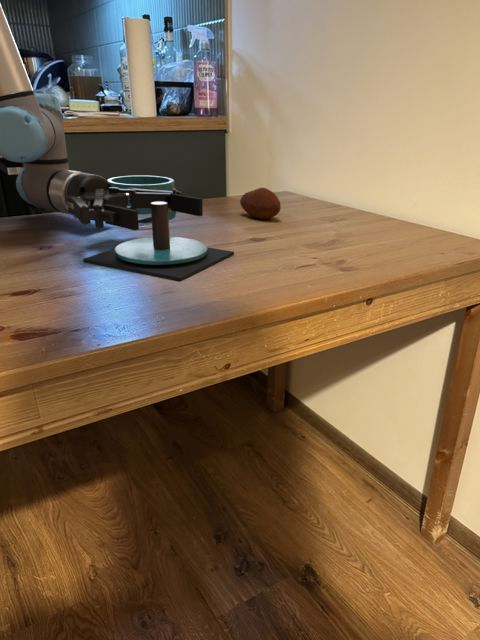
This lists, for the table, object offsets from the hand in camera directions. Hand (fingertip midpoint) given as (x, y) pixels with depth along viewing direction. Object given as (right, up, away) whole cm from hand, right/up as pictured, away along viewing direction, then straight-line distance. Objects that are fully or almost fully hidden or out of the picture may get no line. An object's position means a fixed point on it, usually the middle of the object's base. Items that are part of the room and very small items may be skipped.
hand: (170, 213), depth 75 cm
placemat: (-2, -6, +5) cm, 8 cm away
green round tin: (-12, +8, +33) cm, 36 cm away
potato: (+14, +9, +35) cm, 39 cm away
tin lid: (-2, -5, +4) cm, 7 cm away
